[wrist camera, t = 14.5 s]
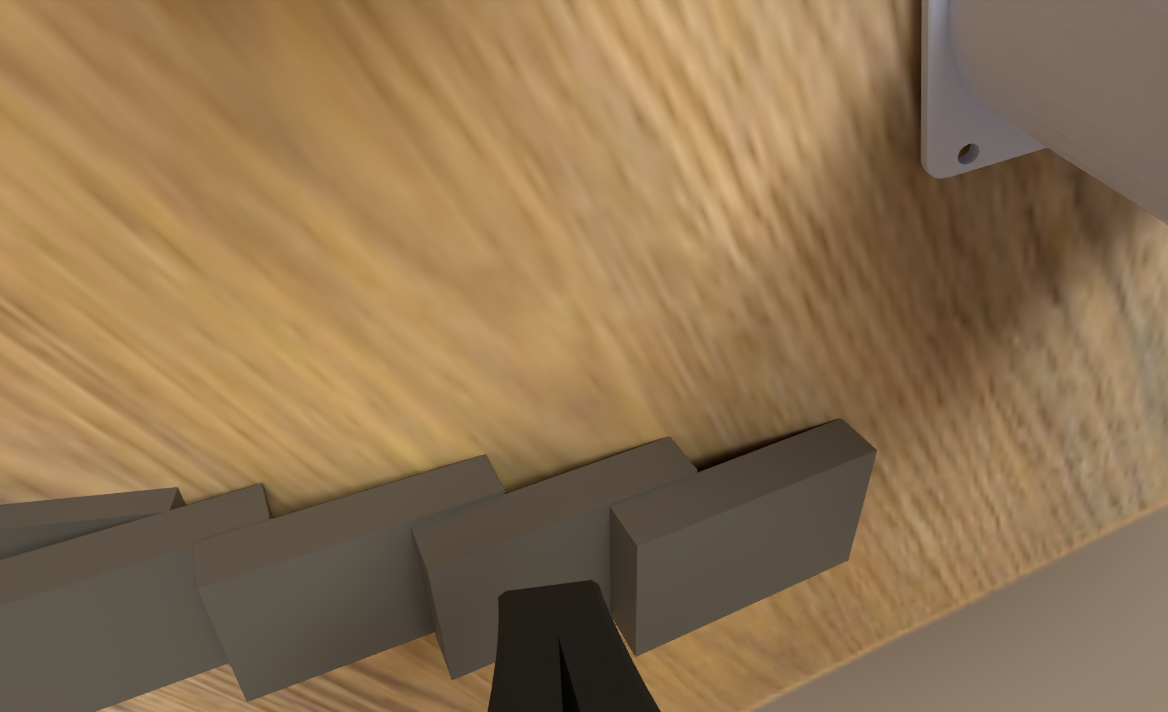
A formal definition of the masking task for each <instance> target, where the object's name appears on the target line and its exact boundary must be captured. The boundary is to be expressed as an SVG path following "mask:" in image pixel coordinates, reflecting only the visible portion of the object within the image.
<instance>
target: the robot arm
mask: <svg viewBox="0 0 1168 712" xmlns="http://www.w3.org/2000/svg"><path fill="white" fill-rule="evenodd" d="M968 144H971V146H970V149H969V151H968V152H967V153H966V154H965V155H964V156H962V157H960V158H958V154H959V152H960V150H961V149H962V148H963V147H964V146H966V145H968ZM1045 148H1049V149H1050V150H1052V151H1053V152H1055V153H1056V154H1058V155H1060V156H1061V157H1063V158H1064V159H1066V160H1067V161H1069V162H1071V163H1072V164H1074V165H1075V166H1077V167H1078V168H1080V169H1082V170H1083V171H1085V172H1086V173H1088V174H1089V175H1091V176H1092V177H1094V178H1096V179H1097V180H1099V181H1100V182H1102V183H1103V184H1105V185H1107V186H1108V187H1110V188H1111V189H1113V190H1114V191H1116V192H1118V193H1119V194H1121V195H1122V196H1124V197H1125V198H1127V199H1129V200H1130V201H1132V202H1133V203H1135V204H1136V205H1138V206H1139V207H1141V208H1143V209H1144V210H1146V211H1147V212H1149V213H1150V214H1152V215H1154V216H1155V217H1157V218H1158V219H1160V220H1161V221H1163V222H1165V223H1166V224H1168V0H922V45H921V164H922V167H923V169H924V170H925V171H926V172H927V173H928V174H930V175H931V176H932V177H934V178H937V179H943V178H949V177H952V176H955V175H959V174H962V173H965V172H968V171H972V170H975V169H978V168H982V167H985V166H988V165H992V164H995V163H998V162H1002V161H1005V160H1008V159H1012V158H1015V157H1018V156H1022V155H1025V154H1028V153H1032V152H1035V151H1038V150H1042V149H1045ZM498 612H499V620H498V640H497V652H496V661H495V669H494V676H493V683H492V690H491V696H490V701H489V707H488V712H661V711H660V710H659V708H658V706H657V704H656V703H655V701H654V699H653V698H652V696H651V694H650V692H649V691H648V689H647V687H646V685H645V683H644V682H643V680H642V678H641V676H640V674H639V672H638V670H637V669H636V667H635V665H634V663H633V661H632V659H631V657H630V655H629V653H628V651H627V649H626V647H625V645H624V643H623V641H622V639H621V637H620V634H619V632H618V630H617V628H616V626H615V624H614V621H613V619H612V617H611V615H610V612H609V610H608V607H607V605H606V602H605V600H604V597H603V595H602V592H601V589H600V586H599V584H598V583H596V582H594V581H593V580H586V581H579V582H571V583H563V584H555V585H548V586H540V587H532V588H525V589H517V590H509V591H505V592H504V593H502V594H501V595H500V596H499V597H498Z"/></svg>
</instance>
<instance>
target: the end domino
mask: <svg viewBox="0 0 1168 712" xmlns="http://www.w3.org/2000/svg"><path fill="white" fill-rule="evenodd" d="M183 506H186V505H185V502H184V500H183V498H182V495H181V493H180V491H179V488H178V487H174V488H164V489H154V490H144V491H134V492H124V493H114V494H104V495H94V496H84V497H74V498H64V499H54V500H44V501H34V502H24V503H14V504H4V505H0V560H3V559H6V558H9V557H13V556H16V555H20V554H23V553H26V552H30V551H33V550H37V549H40V548H43V547H47V546H50V545H54V544H57V543H61V542H64V541H67V540H71V539H74V538H78V537H81V536H84V535H88V534H91V533H95V532H98V531H101V530H105V529H108V528H112V527H115V526H119V525H122V524H125V523H129V522H132V521H136V520H139V519H142V518H146V517H149V516H153V515H156V514H159V513H163V512H166V511H170V510H173V509H177V508H180V507H183Z"/></svg>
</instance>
